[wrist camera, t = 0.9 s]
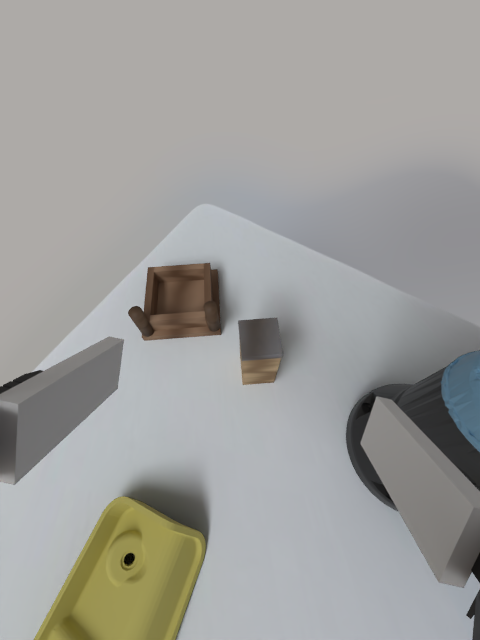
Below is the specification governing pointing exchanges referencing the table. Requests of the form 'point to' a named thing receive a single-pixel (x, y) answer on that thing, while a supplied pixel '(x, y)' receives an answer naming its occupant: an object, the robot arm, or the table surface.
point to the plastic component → (128, 578)
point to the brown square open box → (179, 303)
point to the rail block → (259, 350)
